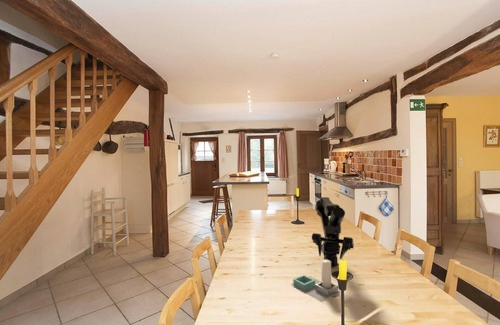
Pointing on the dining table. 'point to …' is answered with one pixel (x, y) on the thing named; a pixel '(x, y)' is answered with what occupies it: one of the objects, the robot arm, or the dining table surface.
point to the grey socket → (324, 291)
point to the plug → (326, 274)
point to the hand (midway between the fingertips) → (329, 257)
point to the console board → (315, 293)
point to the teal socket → (301, 285)
